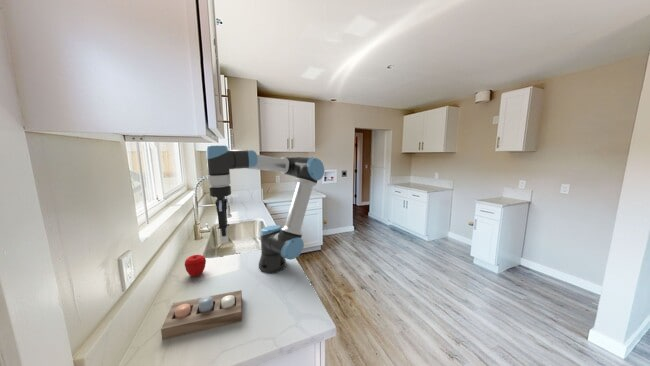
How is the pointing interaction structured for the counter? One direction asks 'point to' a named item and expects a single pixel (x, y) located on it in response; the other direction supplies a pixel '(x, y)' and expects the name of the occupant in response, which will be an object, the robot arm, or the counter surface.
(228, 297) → the button cream
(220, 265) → the counter surface
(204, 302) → the button slate
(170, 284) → the counter surface
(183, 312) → the button terracotta
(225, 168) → the robot arm
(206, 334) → the counter surface
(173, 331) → the console
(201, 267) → the apple
